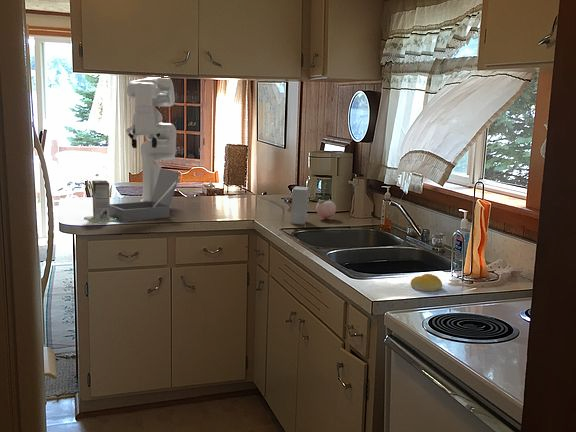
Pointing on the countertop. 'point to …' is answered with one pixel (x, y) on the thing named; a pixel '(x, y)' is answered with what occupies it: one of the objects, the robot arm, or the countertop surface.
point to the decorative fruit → (326, 208)
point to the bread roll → (426, 283)
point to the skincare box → (299, 205)
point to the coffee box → (101, 200)
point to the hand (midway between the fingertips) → (144, 147)
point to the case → (150, 208)
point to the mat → (99, 220)
